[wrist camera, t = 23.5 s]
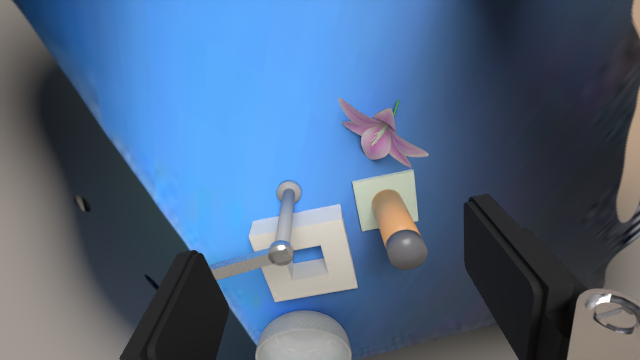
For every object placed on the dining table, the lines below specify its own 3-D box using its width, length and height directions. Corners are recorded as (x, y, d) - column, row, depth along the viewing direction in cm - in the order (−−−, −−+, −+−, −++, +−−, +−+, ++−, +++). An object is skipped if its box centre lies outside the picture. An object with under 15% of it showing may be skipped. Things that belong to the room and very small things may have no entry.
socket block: (332, 171, 47) (338, 224, 35) (354, 270, 56) (365, 338, 44) (241, 190, 48) (217, 247, 37) (277, 284, 57) (268, 354, 46)
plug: (400, 186, 48) (426, 236, 37) (403, 212, 50) (428, 266, 39) (369, 192, 48) (387, 243, 37) (373, 217, 50) (391, 272, 40)
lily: (334, 71, 42) (313, 120, 36) (430, 56, 37) (423, 110, 31) (357, 138, 50) (343, 187, 44) (438, 134, 45) (433, 188, 39)
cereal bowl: (262, 352, 66) (257, 388, 60) (258, 294, 59) (252, 328, 52) (344, 353, 67) (347, 388, 61) (351, 295, 59) (356, 329, 53)
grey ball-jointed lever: (288, 237, 36) (286, 250, 34) (297, 255, 37) (296, 269, 35) (174, 271, 38) (166, 285, 36) (186, 287, 39) (179, 302, 37)
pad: (412, 169, 47) (413, 170, 47) (417, 218, 51) (418, 220, 51) (352, 181, 48) (352, 183, 47) (361, 229, 52) (362, 231, 51)
